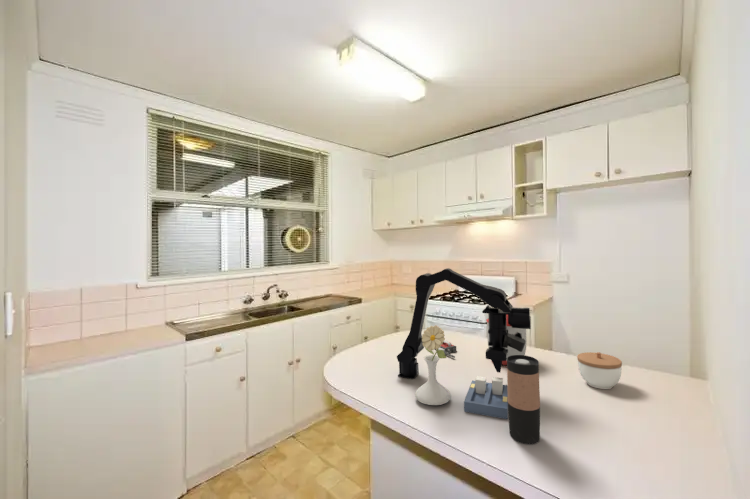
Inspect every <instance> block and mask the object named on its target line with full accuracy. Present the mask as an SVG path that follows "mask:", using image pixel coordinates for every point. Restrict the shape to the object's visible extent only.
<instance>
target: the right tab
mask: <svg viewBox="0 0 750 499" xmlns="http://www.w3.org/2000/svg"><path fill="white" fill-rule="evenodd" d="M503 379H504V378H503V377H497V376H492V379H491V383H492V394H496V395H503V385H504V380H503Z"/></svg>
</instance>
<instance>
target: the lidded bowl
mask: <svg viewBox="0 0 750 499" xmlns="http://www.w3.org/2000/svg"><path fill="white" fill-rule="evenodd" d="M576 357H577V366H578V371H579V375H580V376H581V377H582V379H583V380H584V381H585V382H586V383H587V385H588V386H589V387H592V388H595V389H598V390H611V389H612V388H613V387H614V386H616V385H618V383H619V381H620V380H621V377H622V366H623V361H622V360H621V359H620V358H618V357H616V356H613V355H610V354H605V353H602V352H581V353H578V354H577V356H576Z"/></svg>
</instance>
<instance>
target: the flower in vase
mask: <svg viewBox="0 0 750 499" xmlns="http://www.w3.org/2000/svg"><path fill="white" fill-rule="evenodd" d="M421 334H422V342H423V343H422V345H423V346H424V349H425V350H426V351H427V353H430V355H429V354H428V355H426V356H424V357H423V360H424V361H425V363H426V365H427V369H428V379H427V381H425V382H424V383H423V384H422V385H420V386H419V387H418V388H417V389H416V391H415V394H414V395H415V399H416V400H417V401H418V402H420V403H422V404H424V405H429V406H442V405H445V404H447V403H449V401H450V400H451V398H452V395H451V392H450V391H449V390H448V389H447V388H446V387H445V386H444V385H443V384H441V383H440V382H439V381H438V379H437V375H436V373H437V372H436V371H437V364H438V362H439V360H440V359H447V357H448V356H447V355H445V353H444V351H443V350H438V349H439V348H440V347H441V345H442V344H443V342H444V341H446V338H445V331H444V330H443V329H442V328H441V327H439V326H438V325H430V326H429V327H426V329H425V330H423V333H421ZM434 350H435V353H434ZM436 350H437V351H436ZM431 354H432V355H431Z"/></svg>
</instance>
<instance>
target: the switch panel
mask: <svg viewBox="0 0 750 499" xmlns="http://www.w3.org/2000/svg"><path fill="white" fill-rule="evenodd" d="M486 389H487V390H486V393H485V394H478V393H476V385H475V380H472V381H471V383H470V385H469V388H468V390H467V392H466V396H465V398H464V399H463V400H464V401H463V412H466V413H471V414H476V415H481V416H486V417H487V416H488V417H491V418H492V417H493V418H499V419H505V420H508V419H509V415H508V391H507V384H503V395H496V394H492V382H487V381H486Z"/></svg>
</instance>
